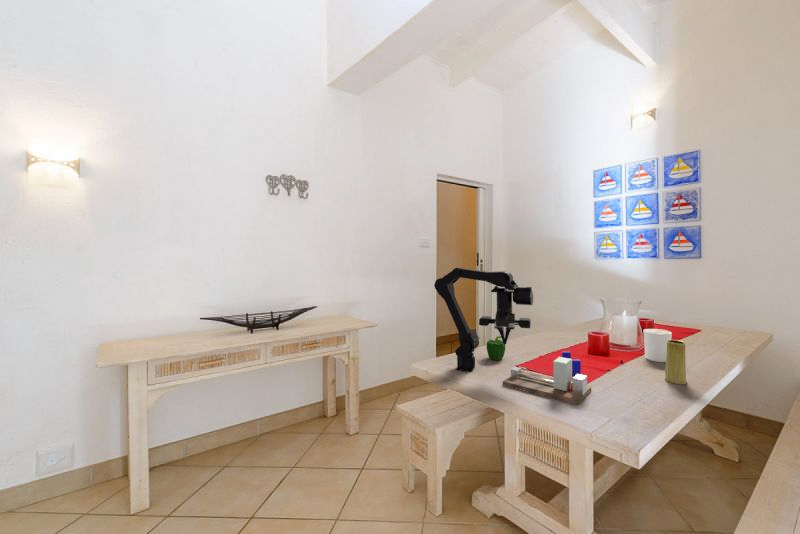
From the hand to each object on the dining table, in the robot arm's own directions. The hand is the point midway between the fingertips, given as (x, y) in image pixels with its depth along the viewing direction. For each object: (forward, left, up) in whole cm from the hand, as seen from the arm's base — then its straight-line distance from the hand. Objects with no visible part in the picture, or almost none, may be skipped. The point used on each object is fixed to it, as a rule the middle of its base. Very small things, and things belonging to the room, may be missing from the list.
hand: (505, 343), depth 134 cm
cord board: (+15, -9, -12) cm, 21 cm away
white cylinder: (+58, +39, -12) cm, 71 cm away
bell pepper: (-6, +19, -12) cm, 23 cm away
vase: (+57, +12, -12) cm, 60 cm away
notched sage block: (+20, -11, -10) cm, 25 cm away
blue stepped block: (+23, +13, -12) cm, 29 cm away
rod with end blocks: (+15, -9, -11) cm, 21 cm away
